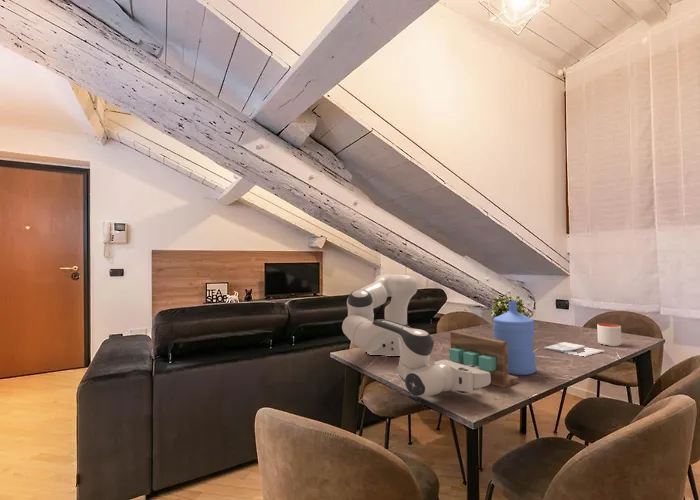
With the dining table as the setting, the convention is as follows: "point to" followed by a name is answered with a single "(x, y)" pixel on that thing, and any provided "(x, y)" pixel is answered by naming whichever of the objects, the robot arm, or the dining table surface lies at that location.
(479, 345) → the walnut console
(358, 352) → the dining table surface
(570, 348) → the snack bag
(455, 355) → the button far
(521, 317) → the water jug
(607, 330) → the cup
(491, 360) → the button near
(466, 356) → the button middle
